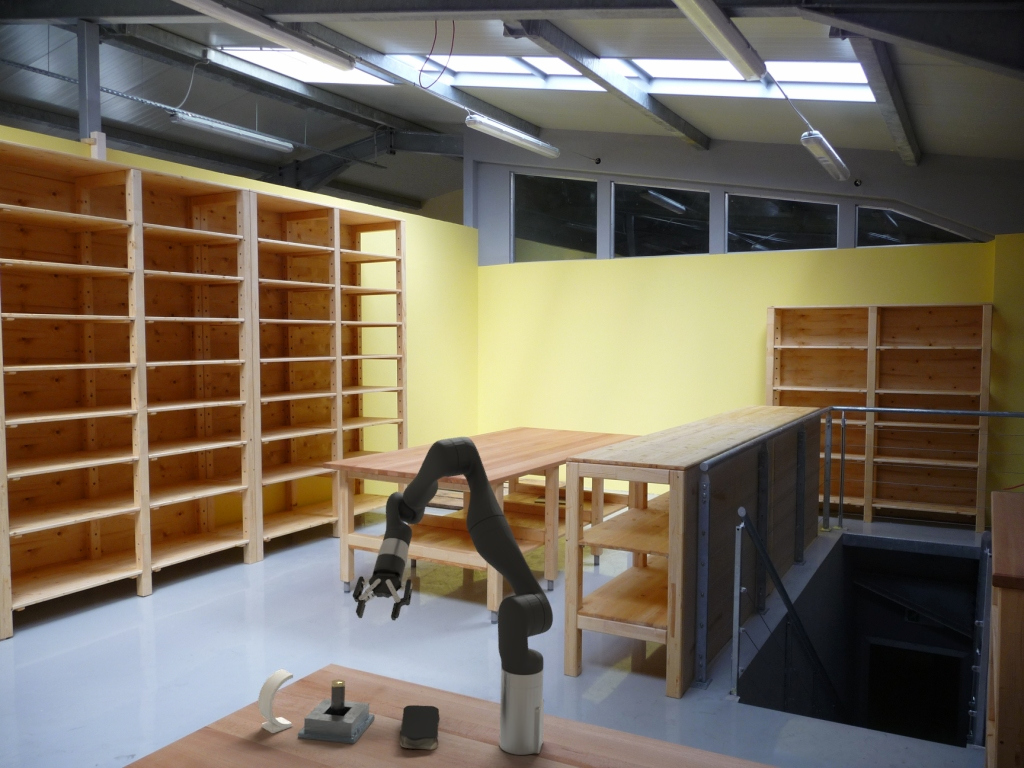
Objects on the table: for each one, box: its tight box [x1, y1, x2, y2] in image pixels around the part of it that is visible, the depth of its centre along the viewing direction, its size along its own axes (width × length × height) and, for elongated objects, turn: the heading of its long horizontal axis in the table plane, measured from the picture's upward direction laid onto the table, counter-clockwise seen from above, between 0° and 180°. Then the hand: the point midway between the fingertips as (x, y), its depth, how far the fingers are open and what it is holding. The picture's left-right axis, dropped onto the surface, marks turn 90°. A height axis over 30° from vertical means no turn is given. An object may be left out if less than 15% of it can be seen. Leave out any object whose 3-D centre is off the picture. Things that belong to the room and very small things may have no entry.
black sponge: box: [399, 704, 440, 750], centre depth 184 cm, size 16×8×4 cm, turn 4°
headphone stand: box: [257, 668, 294, 734], centre depth 186 cm, size 5×6×12 cm
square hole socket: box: [297, 698, 376, 745], centre depth 186 cm, size 13×13×4 cm
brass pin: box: [330, 678, 346, 716], centre depth 186 cm, size 3×3×10 cm
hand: (376, 617), depth 200 cm, fingers open, 8 cm apart
